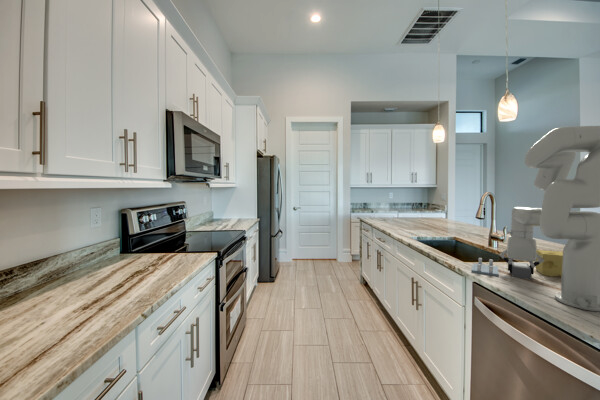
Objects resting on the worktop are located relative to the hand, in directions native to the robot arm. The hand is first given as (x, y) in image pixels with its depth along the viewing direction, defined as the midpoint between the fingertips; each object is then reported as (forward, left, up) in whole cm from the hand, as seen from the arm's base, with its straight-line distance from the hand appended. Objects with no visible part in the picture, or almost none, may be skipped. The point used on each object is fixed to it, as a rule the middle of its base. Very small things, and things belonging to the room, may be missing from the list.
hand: (520, 273), depth 117 cm
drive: (0, 0, -1) cm, 1 cm away
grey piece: (-1, +13, -1) cm, 13 cm away
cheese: (+11, -12, -1) cm, 16 cm away
